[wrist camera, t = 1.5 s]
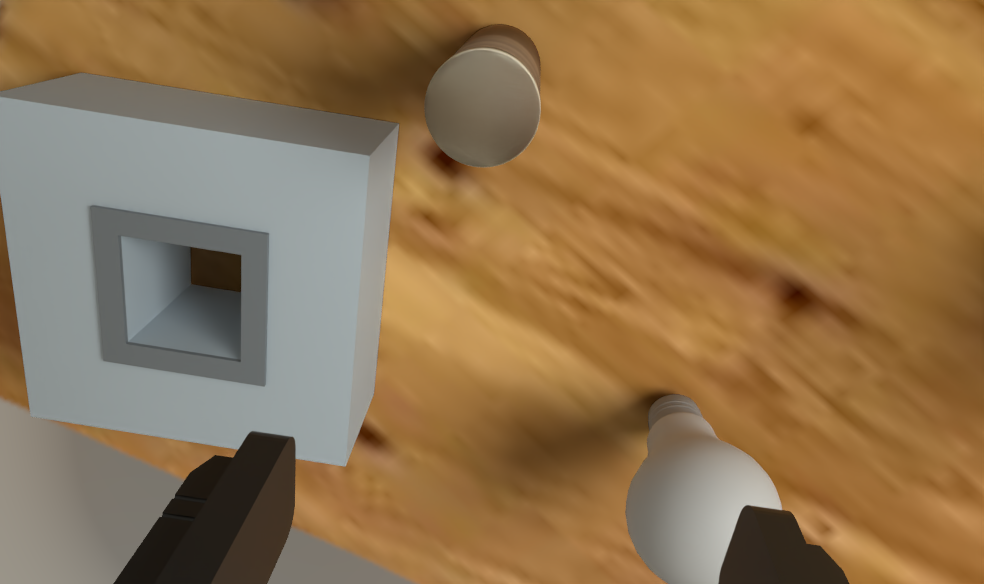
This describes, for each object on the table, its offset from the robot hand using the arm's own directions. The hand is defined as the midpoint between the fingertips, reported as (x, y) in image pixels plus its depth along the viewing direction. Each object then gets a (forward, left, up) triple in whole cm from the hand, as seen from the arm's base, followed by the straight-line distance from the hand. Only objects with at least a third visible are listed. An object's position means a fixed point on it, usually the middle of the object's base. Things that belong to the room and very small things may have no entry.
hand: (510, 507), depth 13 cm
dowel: (-5, -2, -22) cm, 22 cm away
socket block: (+5, -13, -22) cm, 26 cm away
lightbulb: (+10, +9, -22) cm, 26 cm away
